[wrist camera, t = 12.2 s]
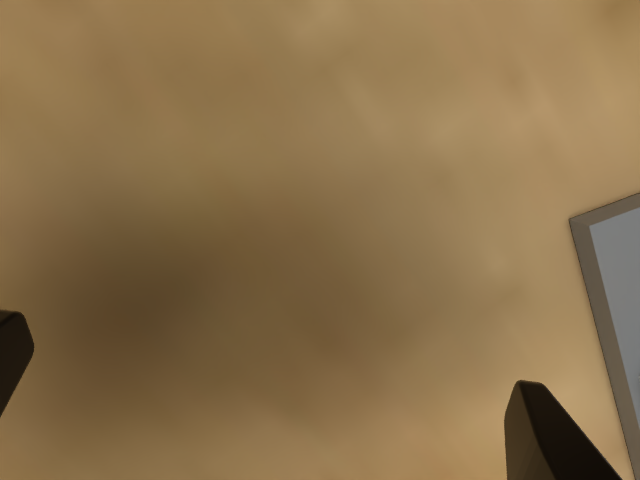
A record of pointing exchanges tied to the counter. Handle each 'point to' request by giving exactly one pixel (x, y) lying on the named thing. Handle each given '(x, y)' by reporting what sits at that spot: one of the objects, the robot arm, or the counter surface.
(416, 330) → the counter surface
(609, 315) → the ball rail dock
